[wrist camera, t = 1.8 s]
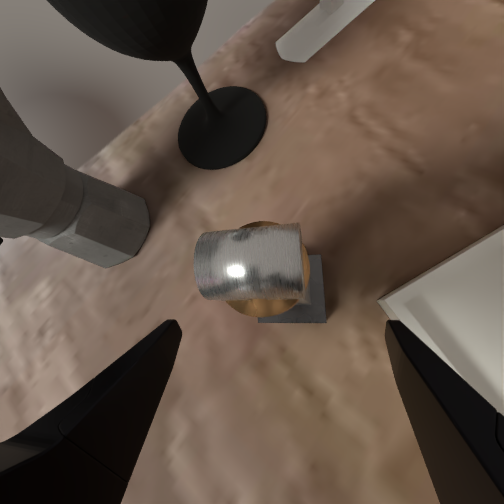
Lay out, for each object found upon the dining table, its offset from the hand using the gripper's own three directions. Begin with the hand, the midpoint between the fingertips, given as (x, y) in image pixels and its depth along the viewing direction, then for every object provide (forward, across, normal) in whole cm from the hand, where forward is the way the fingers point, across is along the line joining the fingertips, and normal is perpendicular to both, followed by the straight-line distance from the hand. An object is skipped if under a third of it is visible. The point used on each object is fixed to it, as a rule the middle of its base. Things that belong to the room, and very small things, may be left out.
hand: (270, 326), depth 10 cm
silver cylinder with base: (+8, 0, +5) cm, 10 cm away
